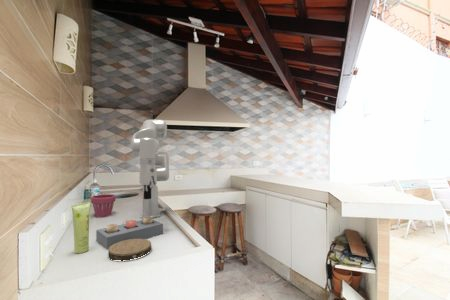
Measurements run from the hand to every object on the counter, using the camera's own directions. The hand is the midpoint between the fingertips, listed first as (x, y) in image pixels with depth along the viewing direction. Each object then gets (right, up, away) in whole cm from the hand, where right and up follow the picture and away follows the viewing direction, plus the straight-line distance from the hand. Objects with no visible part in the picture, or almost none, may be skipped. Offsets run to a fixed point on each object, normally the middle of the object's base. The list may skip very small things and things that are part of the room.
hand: (147, 198), depth 117 cm
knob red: (-6, -14, -6) cm, 16 cm away
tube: (-20, -17, -22) cm, 34 cm away
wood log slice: (+1, -17, -24) cm, 29 cm away
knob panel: (-6, -17, -6) cm, 19 cm away
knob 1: (-12, -14, -12) cm, 22 cm away
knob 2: (0, -14, 0) cm, 14 cm away
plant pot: (-41, -19, +35) cm, 57 cm away
